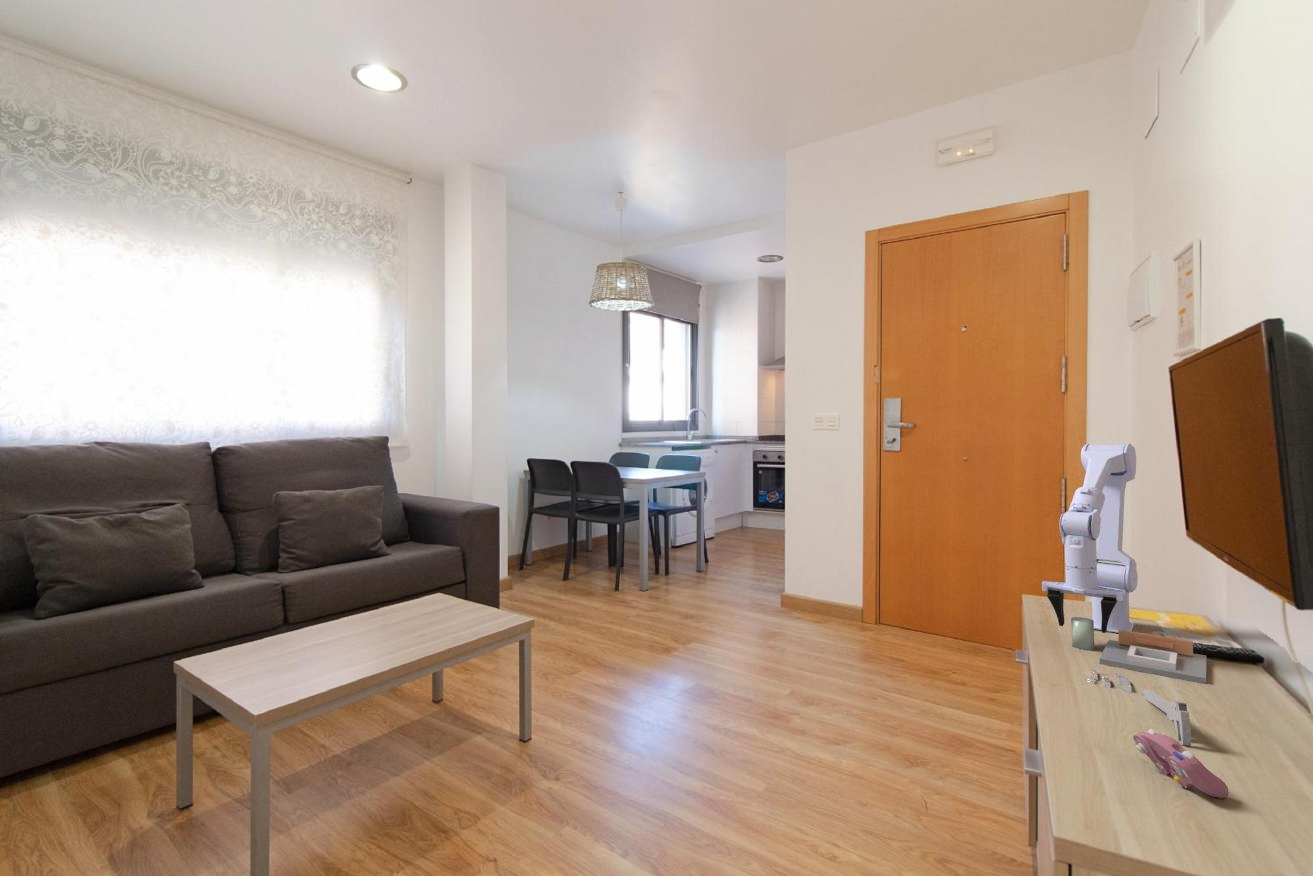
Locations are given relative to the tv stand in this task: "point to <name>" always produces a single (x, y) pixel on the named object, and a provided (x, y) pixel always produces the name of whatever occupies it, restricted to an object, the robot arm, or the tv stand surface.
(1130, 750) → the tv stand surface
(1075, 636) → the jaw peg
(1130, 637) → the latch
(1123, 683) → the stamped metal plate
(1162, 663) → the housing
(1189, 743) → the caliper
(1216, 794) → the video game controller
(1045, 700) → the tv stand surface
